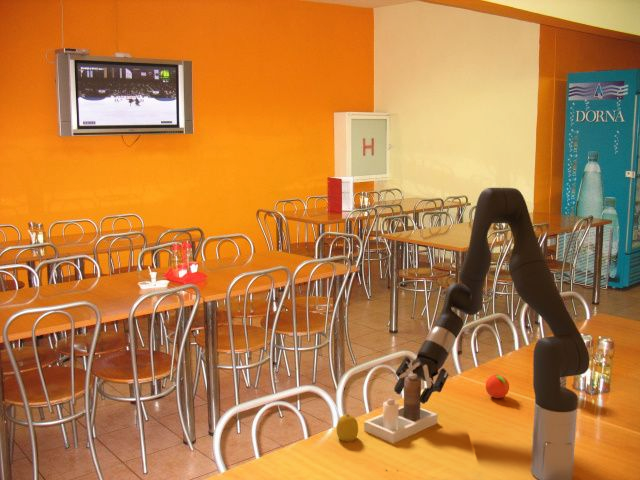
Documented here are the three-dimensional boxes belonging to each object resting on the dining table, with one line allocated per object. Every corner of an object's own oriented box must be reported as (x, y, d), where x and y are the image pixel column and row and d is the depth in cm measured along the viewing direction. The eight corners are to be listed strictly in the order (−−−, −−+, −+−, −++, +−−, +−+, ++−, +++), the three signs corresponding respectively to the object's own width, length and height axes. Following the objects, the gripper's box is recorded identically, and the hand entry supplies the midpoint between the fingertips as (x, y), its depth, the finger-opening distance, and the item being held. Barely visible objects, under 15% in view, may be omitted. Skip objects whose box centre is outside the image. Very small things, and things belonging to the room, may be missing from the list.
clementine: (515, 401, 203) (516, 378, 202) (496, 404, 201) (497, 381, 200) (499, 391, 211) (500, 369, 210) (480, 394, 208) (481, 372, 207)
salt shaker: (398, 434, 177) (399, 401, 176) (383, 434, 177) (383, 401, 176) (397, 428, 181) (397, 396, 180) (382, 428, 181) (382, 396, 180)
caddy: (408, 416, 192) (408, 403, 191) (437, 428, 185) (437, 414, 184) (363, 435, 180) (364, 421, 179) (392, 448, 173) (393, 433, 172)
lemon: (356, 449, 172) (356, 419, 171) (334, 447, 173) (334, 417, 172) (359, 440, 177) (359, 410, 176) (338, 437, 179) (338, 408, 177)
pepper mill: (420, 425, 183) (421, 378, 181) (403, 425, 183) (404, 377, 181) (419, 418, 187) (420, 372, 185) (403, 418, 187) (404, 371, 185)
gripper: (410, 333, 192) (382, 383, 186) (452, 345, 181) (424, 398, 175) (422, 348, 196) (394, 396, 190) (463, 360, 186) (436, 412, 180)
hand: (408, 397), depth 183 cm, fingers open, 8 cm apart
